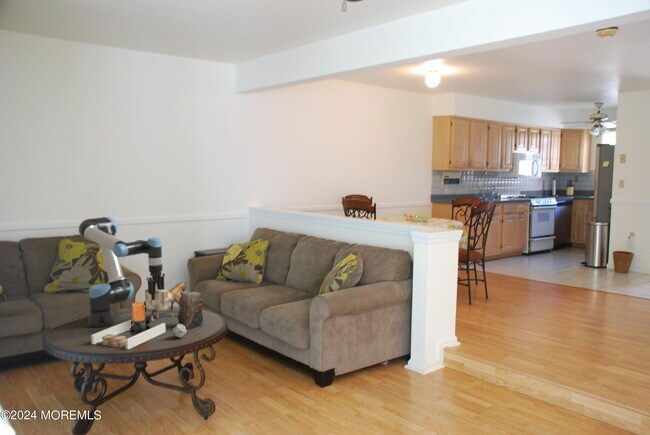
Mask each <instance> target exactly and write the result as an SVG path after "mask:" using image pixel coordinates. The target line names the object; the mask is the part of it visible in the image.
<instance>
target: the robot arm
mask: <svg viewBox="0 0 650 435" xmlns="http://www.w3.org/2000/svg"><path fill="white" fill-rule="evenodd" d="M117 232H118V224H117V222H116V221H115V219H113V218H112V217H108V216H107V217H106V216H103V217H96V218H95V217H94V218H87V219H84V220H82V221H81V223H79V226H78V233H79V235H80V236H81V237H82V238H83V239H85V240H87V241H92V242H94V243H96V244H98V245H99V247H100V248H99V249H100V251H101V255H102V259H103V261H104V266H105V270H106V274H107V279H108V280H107V283H100V284H96V285H93V286H91V287H90V289H89V293H88V294H89V295H88V297H89V311H90V313H89V315H88V320H87V326H88V327H89V328H104V327H105V328H106V327H110V326H114V324H115V323H116V319H115V317H114V314H113V311H112V305H115V304H119V303H123V302H127V301H129V300H131V299H132V298H133V295H134V290H135V289H134V286H133V284H132V282H131V281H128V279H127V277H126V276H124V274H123V270H122V269H123V268H122V266H121V263H120V260H119V258H125V257H129V256H135V255H142V254H144V255H145V254H147V259H148V260H147V261H148V263H147V264H148V272H149V273H150V274H149V276H147V277H146V280H147V289H148V293H149V294H151V299H152V305H157V298H156V294H155V291H156V289H161V290H165V276H166V275H165V273H163V265H162V264H163V258H162V257H163V254H162V247H163V246H162V239H161V238H160V237H150V238H147V240H143V239H137V240H135V241H130V242H125V241H123V240H122V239H119V238H117V237H116V234H117Z"/></svg>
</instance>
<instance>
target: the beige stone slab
mask: <svg viewBox="0 0 650 435" xmlns="http://www.w3.org/2000/svg"><path fill="white" fill-rule="evenodd" d="M168 291H169V290H168V289H164V290H161V289H157V288H156V291H155V294H156V298H157V305H152V299H151V294H149V293H148V288H146V289H145V290H144V292H145V293H144V294H145V295H144V296H145V297H144V298H145V300H146V309H147V310H153V309H156V311H167V310H169V307H170V306H169V305H170V304H169V303H170V302H168Z"/></svg>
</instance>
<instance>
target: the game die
mask: <svg viewBox="0 0 650 435" xmlns="http://www.w3.org/2000/svg"><path fill="white" fill-rule="evenodd" d="M170 329H171V331H172V332H173V334H172V335H173V336H174V338H180V340H182V338H183V337H185V335H186V334H188V333H189V331H188V330H186V327H185V324H184V325H183V324H179V321H178V323H177V324H175V326H174V327H173V328H170Z"/></svg>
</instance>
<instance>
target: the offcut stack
mask: <svg viewBox="0 0 650 435" xmlns="http://www.w3.org/2000/svg"><path fill="white" fill-rule="evenodd" d="M126 339H127V337H126V336H125V335H120V334H118V335H112V334H108V335H106V336H103V337H102V340H103V341H101V342H100V343H101V344H102V345H103V346H106V347H107V346H108V347H113V348H114V347H115V348H119V349H120V348H123V347H126Z"/></svg>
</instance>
